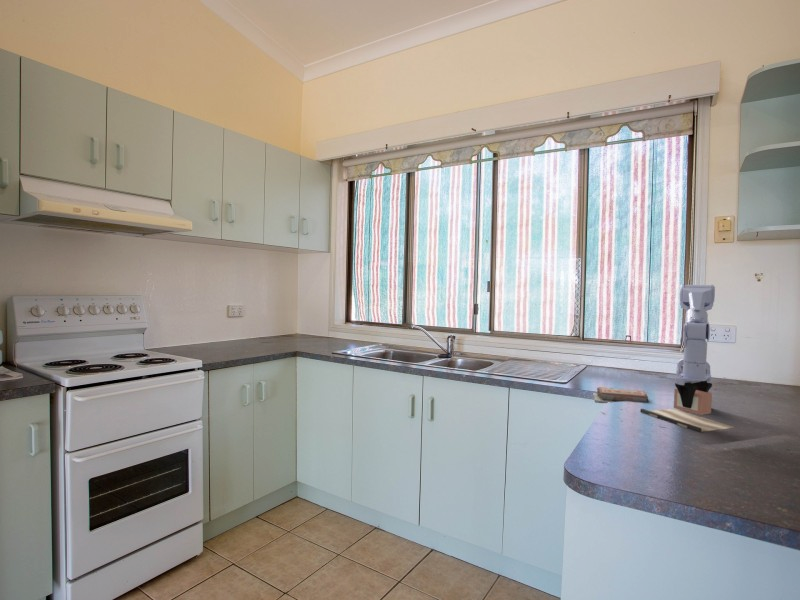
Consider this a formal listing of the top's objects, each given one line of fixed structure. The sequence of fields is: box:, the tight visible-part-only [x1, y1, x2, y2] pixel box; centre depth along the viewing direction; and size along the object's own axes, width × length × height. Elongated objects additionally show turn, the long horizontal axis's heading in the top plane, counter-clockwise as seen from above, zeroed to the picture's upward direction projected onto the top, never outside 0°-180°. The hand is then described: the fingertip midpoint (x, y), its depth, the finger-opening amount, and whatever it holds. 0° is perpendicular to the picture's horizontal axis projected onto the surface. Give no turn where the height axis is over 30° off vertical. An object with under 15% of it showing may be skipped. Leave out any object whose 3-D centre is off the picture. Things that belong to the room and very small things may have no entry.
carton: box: [673, 387, 713, 416], centre depth 133 cm, size 5×8×6 cm, turn 26°
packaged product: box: [592, 386, 649, 404], centre depth 163 cm, size 18×5×10 cm
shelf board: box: [640, 408, 736, 433], centre depth 137 cm, size 15×20×2 cm
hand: (692, 406), depth 133 cm, fingers closed on carton, 5 cm apart
